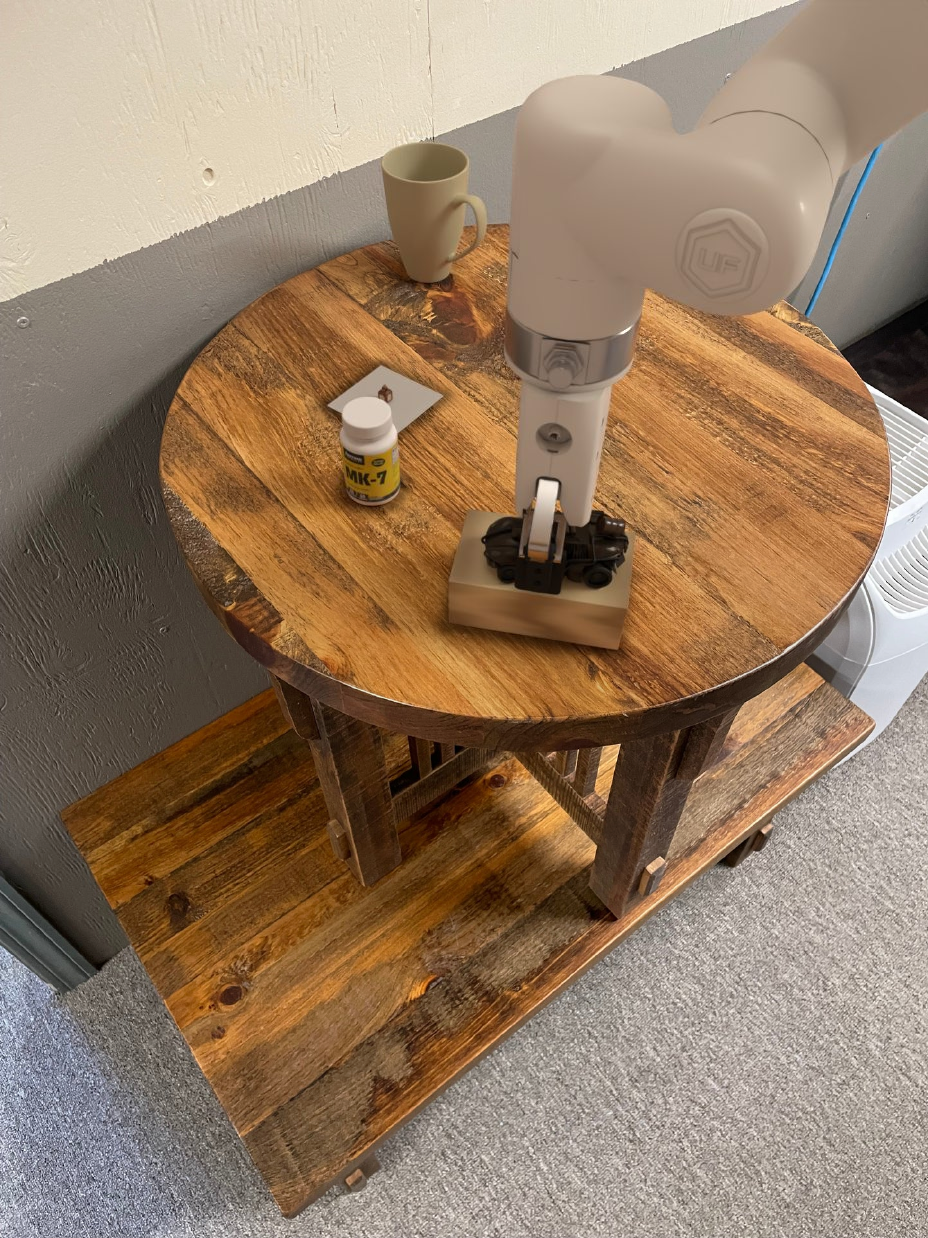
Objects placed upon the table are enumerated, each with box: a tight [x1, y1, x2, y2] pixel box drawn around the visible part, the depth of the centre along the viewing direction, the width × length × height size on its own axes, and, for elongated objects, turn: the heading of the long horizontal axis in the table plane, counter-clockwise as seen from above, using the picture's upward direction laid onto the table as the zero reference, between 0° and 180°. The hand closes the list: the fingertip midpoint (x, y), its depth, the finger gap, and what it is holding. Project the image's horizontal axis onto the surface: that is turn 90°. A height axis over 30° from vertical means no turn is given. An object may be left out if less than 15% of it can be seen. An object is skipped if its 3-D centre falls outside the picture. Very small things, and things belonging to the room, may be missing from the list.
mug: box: [380, 141, 488, 284], centre depth 92 cm, size 11×10×12 cm
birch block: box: [447, 508, 636, 651], centre depth 66 cm, size 13×8×5 cm, turn 79°
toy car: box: [481, 509, 629, 588], centre depth 62 cm, size 6×12×4 cm, turn 91°
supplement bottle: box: [339, 397, 401, 506], centre depth 72 cm, size 5×5×8 cm
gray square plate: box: [326, 364, 445, 435], centre depth 82 cm, size 8×8×2 cm
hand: (547, 538), depth 63 cm, fingers open, 9 cm apart
